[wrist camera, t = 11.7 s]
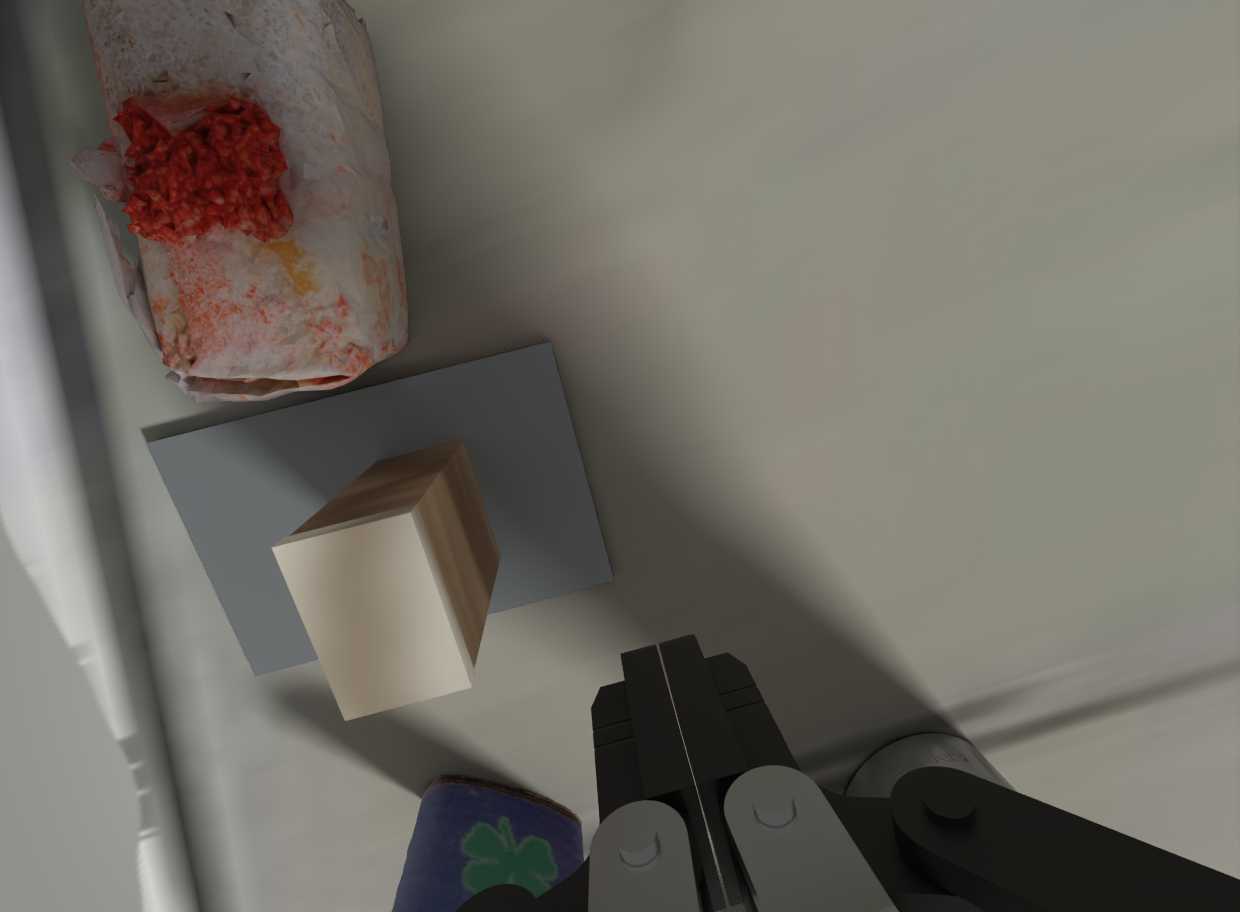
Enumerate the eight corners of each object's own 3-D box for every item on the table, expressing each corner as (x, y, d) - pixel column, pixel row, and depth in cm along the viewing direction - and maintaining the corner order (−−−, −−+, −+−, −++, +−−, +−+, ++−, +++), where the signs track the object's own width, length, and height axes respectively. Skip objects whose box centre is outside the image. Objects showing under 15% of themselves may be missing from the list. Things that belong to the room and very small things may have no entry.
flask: (417, 802, 32) (350, 1037, 22) (438, 760, 32) (380, 979, 21) (570, 851, 34) (576, 1088, 24) (593, 812, 34) (609, 1036, 23)
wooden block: (464, 438, 27) (410, 512, 17) (502, 558, 29) (472, 687, 19) (375, 459, 27) (271, 547, 17) (418, 579, 28) (344, 721, 19)
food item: (436, 371, 27) (368, 408, 17) (253, 384, 26) (77, 429, 17) (389, 24, 23) (272, -168, 14) (176, 30, 23) (-98, -167, 13)
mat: (613, 575, 30) (613, 580, 29) (261, 668, 29) (255, 676, 29) (550, 341, 27) (550, 341, 26) (155, 440, 26) (146, 443, 26)
